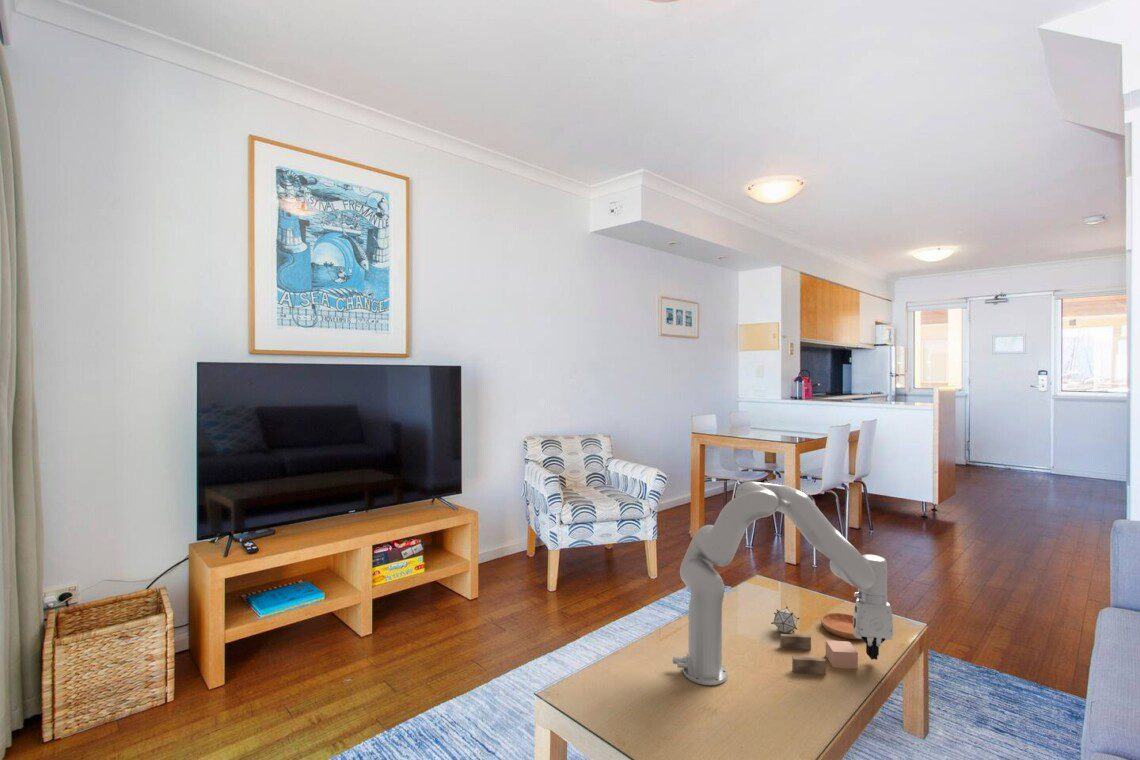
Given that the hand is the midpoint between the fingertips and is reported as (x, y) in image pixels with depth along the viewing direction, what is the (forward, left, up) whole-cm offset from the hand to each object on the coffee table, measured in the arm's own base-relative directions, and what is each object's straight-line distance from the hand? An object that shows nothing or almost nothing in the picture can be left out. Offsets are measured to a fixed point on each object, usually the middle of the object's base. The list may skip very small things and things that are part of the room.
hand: (872, 657), depth 169 cm
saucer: (0, +22, -3) cm, 22 cm away
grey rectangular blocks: (-20, 0, -2) cm, 20 cm away
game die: (-21, +18, -2) cm, 28 cm away
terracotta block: (-9, 0, -2) cm, 9 cm away
